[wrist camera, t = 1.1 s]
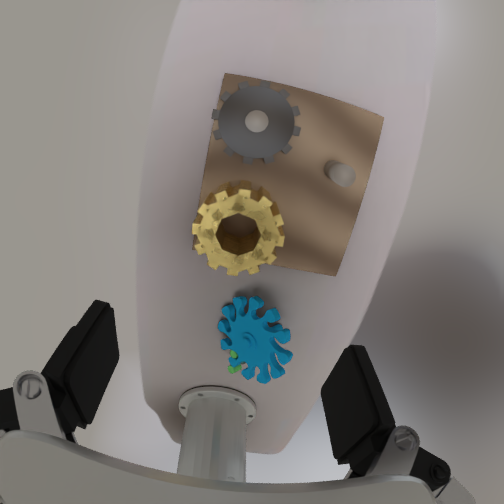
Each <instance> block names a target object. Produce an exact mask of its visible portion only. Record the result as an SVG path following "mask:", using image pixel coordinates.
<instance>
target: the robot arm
mask: <svg viewBox="0 0 504 504" xmlns="http://www.w3.org/2000/svg"><path fill="white" fill-rule="evenodd" d="M118 360H119V349H118V342H117V335H116V326H115V317H114V310H113V308H111V307H110V304H109V303H107V302H103V301H100V300H95V301H94V302H93V303H92V305H91V306H90V307H89V309H88V310H87V311H86V313H85V314H84V315H83V317H82V318H81V320H80V321H79V322H78V324H77V325H76V326H73V327H72V328H71V329H70V330H69V331H68V333H67V334H66V336H65V337H64V338H63V340H62V341H61V343H60V344H59V346H58V347H57V349H56V350H55V352H54V353H53V355H52V356H51V358H50V359H49V361H48V362H47V364H46V366H45V367H44V369H43V370H42V372H41V373H38V372H36V371H25V372H22V373H21V374H19V375H18V376H17V377H16V379H15V380H14V383H13V387H11V388H8V389H3V390H0V504H475V499H474V497H473V496H472V495H471V494H470V493H469V492H468V491H467V490H466V489H465V488H464V487H463V486H462V485H461V484H460V483H459V482H458V481H457V480H456V479H455V478H454V477H452V478H450V475H451V473H450V468H449V466H448V465H447V463H446V462H445V461H443V460H442V459H440V458H438V457H436V456H435V455H433V454H431V453H429V452H428V451H426V450H424V449H423V448H421V447H419V445H420V440H419V436H418V434H417V433H416V432H415V430H413V429H412V428H410V427H408V426H398V427H396V426H395V420H394V418H393V415H392V412H391V410H390V407H389V405H388V402H387V399H386V397H385V394H384V392H383V389H382V387H381V384H380V382H379V379H378V377H377V375H376V372H375V370H374V368H373V365H372V363H371V360H370V358H369V356H368V353H367V351H366V349H365V347H364V346H362V345H350V346H349V347H348V348H345V349H344V351H343V353H342V354H341V356H340V358H339V360H338V361H337V363H336V365H335V366H334V368H333V370H332V371H331V373H330V375H329V376H328V378H327V380H326V381H325V383H324V384H323V386H322V388H321V397H322V402H323V407H324V411H325V416H326V421H327V426H328V431H329V435H330V441H331V445H332V451H333V456H334V458H335V459H337V461H338V465H340V464H348V463H349V464H350V470H349V472H348V473H347V475H346V476H345V478H344V479H343V480H334V481H323V482H311V483H286V484H285V483H284V484H271V483H269V484H268V483H246V440H247V439H246V425H247V424H249V423H250V422H251V421H253V419H254V418H255V416H256V407H255V404H254V402H253V401H252V400H251V399H250V398H249V397H247V396H246V395H244V394H242V393H240V392H238V391H235V390H232V389H228V388H223V387H213V386H210V387H198V388H194V389H191V390H189V391H187V392H185V393H184V394H183V395H182V396H181V397H180V400H179V405H178V407H179V410H180V412H181V414H182V415H183V416H184V417H185V418H186V420H185V426H184V432H183V437H182V443H181V450H180V455H179V462H178V468H177V474H175V473H170V472H165V471H161V470H156V469H153V468H148V467H144V466H141V465H137V464H134V463H130V462H127V461H123V460H121V459H117V458H114V457H111V456H108V455H105V454H102V453H99V452H96V451H93V450H91V449H88V448H86V447H83V446H81V445H78V443H77V440H76V438H75V435H74V433H73V432H74V431H75V429H76V427H77V426H78V427H81V428H83V429H85V428H86V426H87V424H91V423H92V421H93V419H94V416H95V414H96V411H97V409H98V407H99V404H100V402H101V399H102V397H103V394H104V392H105V390H106V388H107V385H108V383H109V381H110V378H111V376H112V374H113V372H114V369H115V367H116V365H117V363H118Z"/></svg>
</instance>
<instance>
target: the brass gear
mask: <svg viewBox="0 0 504 504" xmlns="http://www.w3.org/2000/svg"><path fill="white" fill-rule="evenodd" d="M197 212H198V213H199V214H198V215H197V217H196V219H195V220H194V222H193V226H192V234H196V235H197V237H198V239H197V241H196V243H195V245H194V246H195V248H196V250H197V252H198V254H199V255H200V254H203V253H206V255H207V257H208V262H207V265H209V266H210V267H212V268H213V269H214V270H216V269H217V268H218V267H219V265H220V266H223V267H226V268H228V270H227V275H233V276H238V272H240V271H243V270H246V269H247V270H248V272H249V275H251V274H254V273H257V272H260V269H259V265H261V264H264V263H268V264H269V265H270V264H271V263H272V262H273V261H274V260H275V259H276V258H277V255H276V250H275V246H280V247H283V243H284V238H285V235H284V232H283V229H282V226H281V225H283V224H284V223H283V220H282V217H281V214H280V211H279V208H278V206H277V203H276V201H275V202H273V203H272V199H271V196H270V193H269V192H268V191H267V190H266V189H265V188H263V187H262V186H261V187H260V189H259V190H258V191H256V190H253V189H251V181H245V180H241V182H240V184H239V185H236V186H234V187H231V184H230V182H226V183H224V184H221V185H220V186H219V187H218V189H217V191H216V193H215V194H213V193H212V192H210V194H209V195H208V196H207V197H206V199H205V200H204V202H203V203H202V205H201V206H200V208H199V210H198V211H197ZM236 213H240V214H242V215H245V216H247V217H250V218H252V219H254V220H255V221H256V224H257V227H256V229H255V231H254V233H252V234H249V235H246V236H244V237H241V238H239V237H236V236H234V235H231V234H229V233H226V231H225V229H224V227H223V225H222V222H221V219H223V218H226V217H228V216H231V215H234V214H236Z"/></svg>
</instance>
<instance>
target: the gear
mask: <svg viewBox="0 0 504 504" xmlns="http://www.w3.org/2000/svg"><path fill="white" fill-rule="evenodd" d="M233 303H234V306H235V308H236V318H235V308H234V306H233V305H228V306H225V307H224V308H223V309H222V313H223V314H224V315H225V316H226V318H227V319H228V321H229V322H228V321H227V320H226V319H225V320H222V321H220V322H219V324H218V329H219V330H220V331H221V332H224V333H225V334H227V335H228V337H229V338H230V339H231V340H230V339H229V338H225V339H222V340H221V348H222V349H223V350H226V349H231V351H230V355H231V357H229V362H230V364H231V365H230V366H228V370H229V372H230V373H232V374H233V373H235V372H237V371H239V370H241V368H242V366H241V364H245V363H247V364H248V368H246V369H244V370H242V372H241V374H242V375H243V376H244V377H245V378H246V379H247V380H249V379H251V378H252V377H254V375H255V368H256V366H257V367H258V368H259V369H260V373H259V374H258V375H257V381H258V382H260V383H264V384H266V383H267V382H269V381H270V380H271V377H270V375H269V372H268V364H269V365H270V366H271V371H270V374H271V376H272V378H273V379H275V378H279V377H280V376H282V375H283V374H285V370H284V369H283V367H281V366H280V365H279V363H278V362H277V360H276V357H275V353H276V355H277V357H278V360H279V362H280V363H281V364H282V365H285V364H286V363H288V362H289V361H290V360H291V359H292V356H293V354H292V352H290V351H289V350H285V349H283V348H281V347H280V346H279V345H278V344H277V343H276V341H275V339H274V337H275V338H276V339H277V340H278V341H279V342H280V343H282V344H284V343H286V342H288V341H290V337H291V336H290V330H289V329H286V328H285V329H283V327H282V325H280V324H277V325H275V326H273V327H269V326H268V324H267V321H268V322H270V323H273V322H275V321H278V320H279V319H280V318H281V317H280V314H279V312H278V311H277V309H276V308H272V309H270V310H267V311H266V313H265V315H264V316H263V317H262V318H259V317H258V316H257V315H256V310H257V309H259V308H261V307H263V305H264V301H263V300H262V299H261V298H259V297H258V296H254V297H251V298H250V299H249V310H248V312H247V314H245V312H244V307H245V306H246V304H247V298H246V297H244V296H239V297H235V298H233ZM229 323H230V324H229ZM230 326H231V327H230Z"/></svg>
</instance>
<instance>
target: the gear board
mask: <svg viewBox="0 0 504 504" xmlns="http://www.w3.org/2000/svg"><path fill="white" fill-rule="evenodd" d="M212 119H214V123H213V128H212V133H211V138H210V143H209V148H208V154H207V159H206V164H205V170H204V176H203V181H202V187H201V193H200V200H199V206H198V210H199V208H200V206H201V205H202V203H203V202H204V200H205V199H206V197H207V196H208V195H209V194H210V192H212V193H213V194H215V193H216V191H217V189H218V187H219V186H220V185H221V184H224V183H226V182H230V184H231V187H234V186H236V185H239V184H240V182H241V180H245V181H251V189H253V190H256V191H258V190H259V189H260V187H261V186H262V187H263V188H265V189H266V190H267V191H268V192H269V193H270V196H271V199H272V203H273V202H275V201H276V203H277V206H278V208H279V211H280V214H281V217H282V220H283V223H284V224H283V225H281V226H282V229H283V232H284V235H285V238H284V243H283V247H280V246H275V250H276V255H277V258H276V259H275V260H274V261H273V262H272V263H271V264H270V265H276V266H281V267H286V268H292V269H297V270H303V271H308V272H314V273H319V274H325V275H330V276H336V275H337V272H338V269H339V267H340V264H341V261H342V259H343V256H344V253H345V250H346V247H347V245H348V242H349V239H350V236H351V233H352V230H353V227H354V224H355V221H356V218H357V215H358V212H359V209H360V206H361V202H362V199H363V196H364V193H365V189H366V186H367V183H368V179H369V176H370V172H371V168H372V165H373V161H374V157H375V154H376V150H377V146H378V142H379V138H380V134H381V130H382V125H383V121H384V117H382V116H379V115H377V114H374V113H372V112H369V111H367V110H364V109H362V108H359V107H356V106H354V105H351V104H348V103H345V102H342V101H339V100H336V99H333V98H330V97H327V96H324V95H321V94H317V93H314V92H310V91H307V90H303V89H300V88H296V87H292V86H288V85H284V84H280V83H275V82H271V81H266V80H261V79H256V78H251V77H246V76H240V75H234V74H227V73H225V75H224V79H223V83H222V87H221V91H220V96H219V100H218V105H217V109H216V110H215V109H213V113H212ZM198 214H199V213H198V212H197V215H198ZM221 222H222V225H223V227H224V229H225V231H226V233H229V234H231V235H234V236H236V237H239V238H241V237H244V236H246V235H249V234H252V233H254V231H255V229H256V227H257V224H256V221H255V220H254V219H252V218H250V217H247V216H245V215H242V214H240V213H236V214H234V215H231V216H228V217H226V218H223V219H221ZM197 239H198V237H197V235H196V234H194V240H193V248H192V250H196V248H195V246H194V245H195V243H196V241H197ZM196 251H197V250H196ZM265 264H268V263H265Z"/></svg>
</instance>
